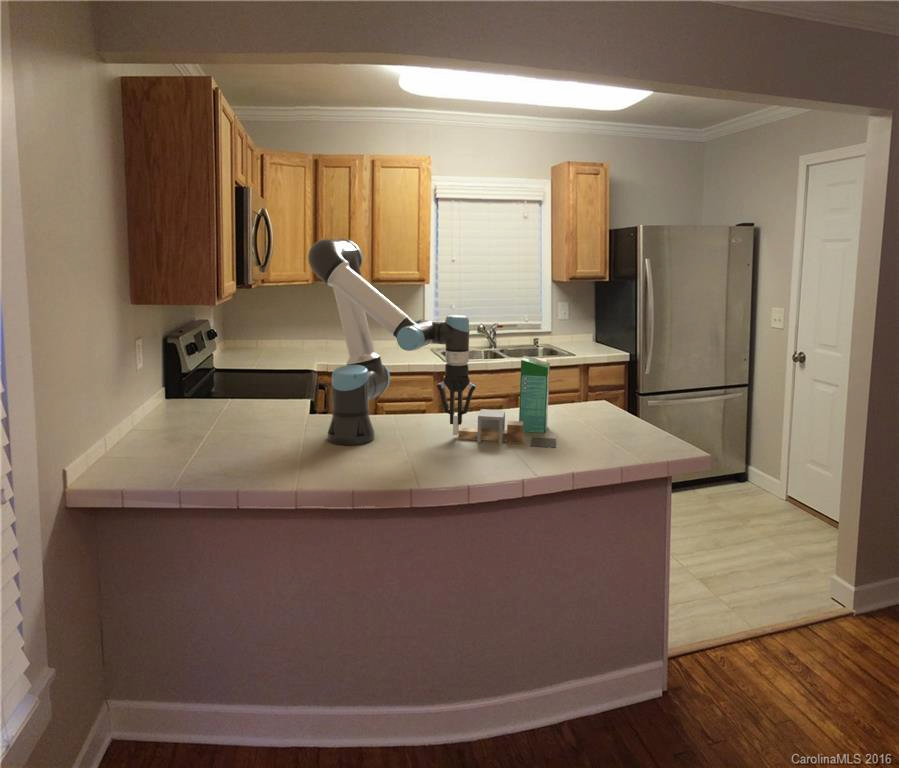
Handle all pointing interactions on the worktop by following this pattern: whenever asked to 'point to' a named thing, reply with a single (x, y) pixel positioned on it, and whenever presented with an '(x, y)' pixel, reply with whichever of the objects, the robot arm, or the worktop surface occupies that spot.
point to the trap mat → (543, 442)
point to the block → (515, 431)
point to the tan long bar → (485, 434)
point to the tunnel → (491, 422)
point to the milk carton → (534, 394)
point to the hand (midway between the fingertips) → (455, 433)
